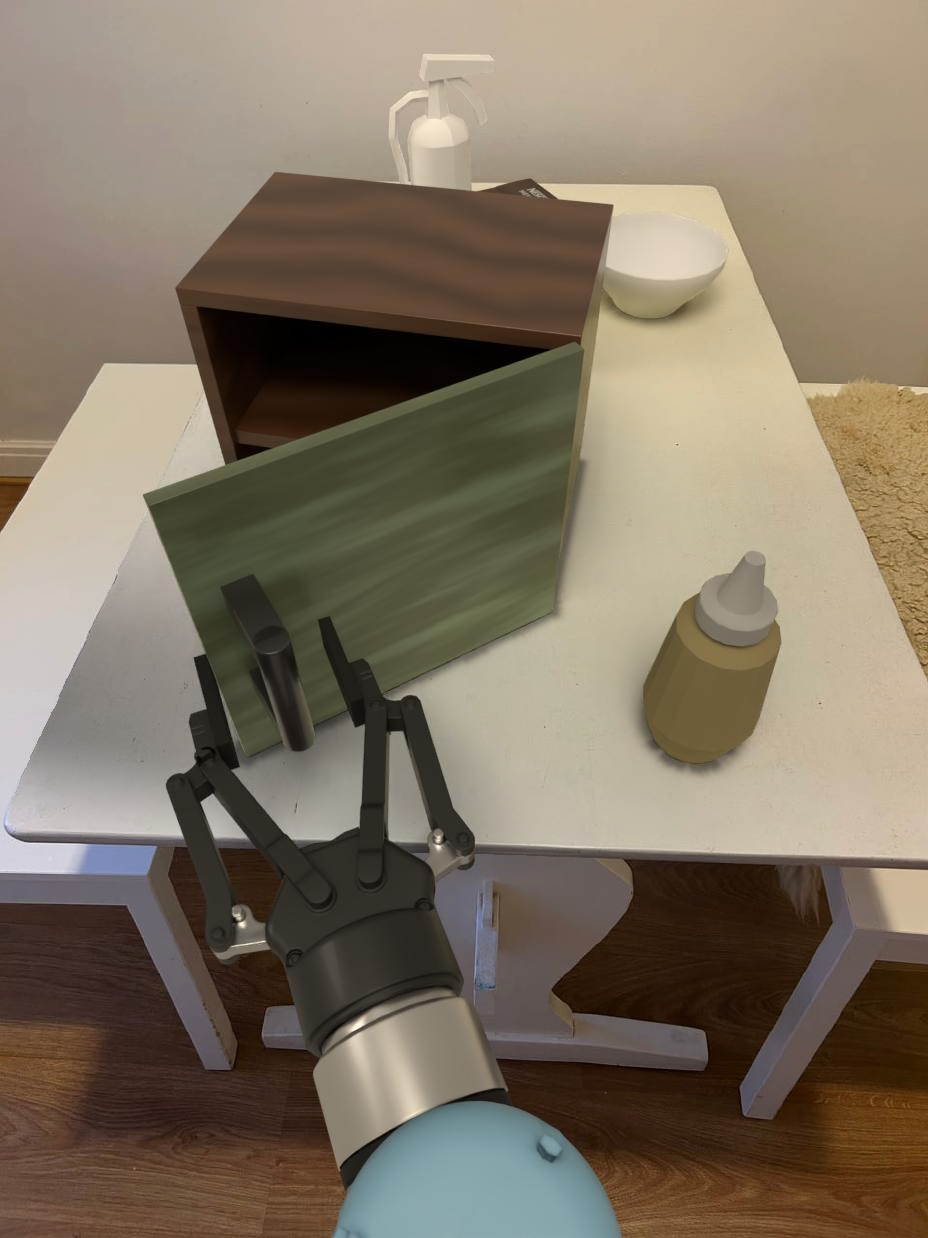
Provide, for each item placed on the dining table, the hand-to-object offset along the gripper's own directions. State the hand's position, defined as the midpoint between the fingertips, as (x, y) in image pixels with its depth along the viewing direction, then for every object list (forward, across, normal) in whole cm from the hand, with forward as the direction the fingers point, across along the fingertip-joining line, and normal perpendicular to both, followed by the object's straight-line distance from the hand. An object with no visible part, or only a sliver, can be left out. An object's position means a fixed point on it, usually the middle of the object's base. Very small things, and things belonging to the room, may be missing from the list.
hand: (267, 650), depth 51 cm
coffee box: (+41, +36, -12) cm, 56 cm away
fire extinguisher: (+53, +32, -12) cm, 63 cm away
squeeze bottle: (-9, +27, -12) cm, 31 cm away
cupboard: (+21, +17, -12) cm, 30 cm away
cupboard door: (0, +10, -12) cm, 15 cm away
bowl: (+44, +54, -12) cm, 71 cm away
